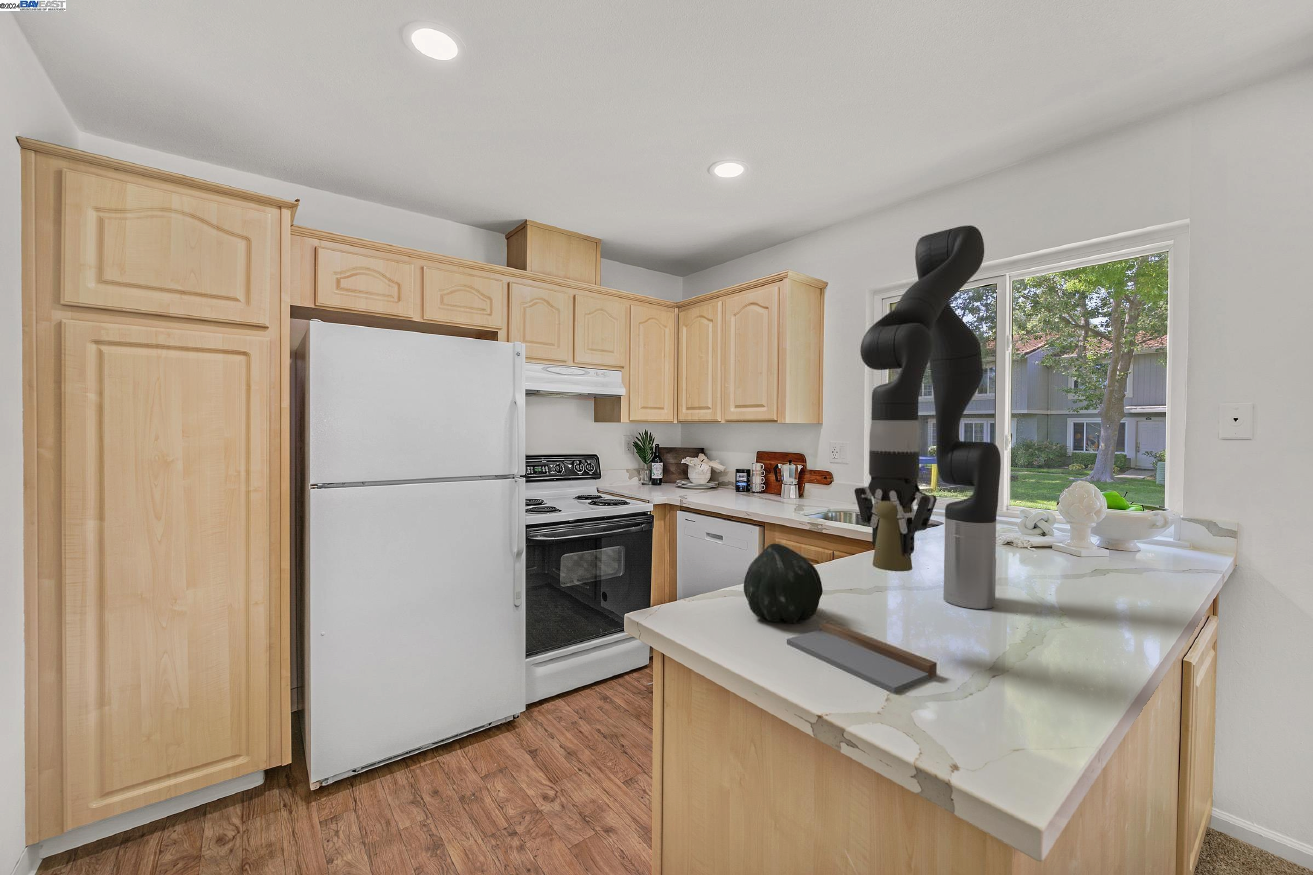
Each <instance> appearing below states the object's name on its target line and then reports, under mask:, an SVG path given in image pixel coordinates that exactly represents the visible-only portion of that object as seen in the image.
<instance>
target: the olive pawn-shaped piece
mask: <svg viewBox="0 0 1313 875" xmlns="http://www.w3.org/2000/svg"><path fill="white" fill-rule="evenodd" d="M896 506H897V505H896ZM896 506H895V504H893V503H892V501H890V500H883V501H881V502H879V503H878V504H877V507H876V513H877V516H878V517H879V526H878V532H877V538H876V545H875V549H874V552H873V559H872V567H874V568H876V569H880V570H884V571H889V572H909V571H912V570H913V564H912V555H911V556H910V555H909V554H906V556H905V557H903V555H902V548H901V540H900V533H902V532H901V530H900V526H899V519H898V518H897V516H898V510H897V507H896ZM902 509H903V512H904V513H910V508H905V509H904V508H902ZM907 519H908V518H907Z"/></svg>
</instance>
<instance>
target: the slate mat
mask: <svg viewBox="0 0 1313 875" xmlns="http://www.w3.org/2000/svg"><path fill="white" fill-rule="evenodd" d="M786 644H787V645H789V646H791V647H792V648H795V649H798V650H800V651H801V652H803V653H806V654H808V655H810V656H812V657H815V658H816V659H818V660H821V661H822V662H825V663H827V664H830V665H832V666H834V667H836V668H838V669H840V670H843V671H844V672H847V673H849V674H851V675H853V676H855V677H858V678H860V679H862V680H864V681H866V682H869V683H870V684H873V685H875V686H877V687H879V688H881V689H884V690H885V691H888V692H890V693H891V694H896V693H899V692H901V691H904V690H907V689H909V688H911V687H914V686H916V685H918V684H921V683H923V682H925V681H928V680H929V679H928V677H929V674H927V673H925V672H922V671H920V670H918V669H915V668H913V667H910V666H908V665H905V664H903V663H900V662H898V661H896V660H893V659H891V658H888V657H886V656H883V655H881V654H878V653H876V652H873V651H871V650H869V649H866V648H864V647H861V646H859V645H856V644H854V643H851V642H849V641H846V640H844V639H842V638H839V637H837V636H834V635H832V634H829V633H827V632H824V631H822V630H820V629H817V630H815V631H810V632H806V633H803V634H799V635H797V636H792V637H788V638H786Z"/></svg>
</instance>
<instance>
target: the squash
mask: <svg viewBox="0 0 1313 875" xmlns="http://www.w3.org/2000/svg"><path fill="white" fill-rule="evenodd" d="M823 591H824V590H823V585H822V581H821V576H820V574H819V572H818V570H817V569H816V567H815V566H814V565H813V564H812V563H811V561H809V560H808V559H806V557H804V555H801V554H799V553H798V552H797V551H795V550H794V549H791V548H790V547H788V546H785V545H783V544H780V543H775V542H774V543H773V542H772V543H770V544H768V545H767V546H766V547H765V548H764V549H763V550H762V552H760V553H759V554H758V556H757V557H756V558H754V560H752V562H751V563H750V564H749V566H748V568H747V571H746V573H745V576H744V581H743V592H744V593H743V594H744V595H745V596H744V597H745V598H746V600H747V603H748V606H749V609H750V611H751V612H752V613H753V614H754V615H755V616H757V617H759V618H763V619H767V621H770V622H773V623H774V622H775V623H777V622H779V621H781V619H783V620H784V622H786V623H789V624H794V623H796V622H797V621H800V622H802V621H803V622H804V621H808V620H810V619H811V618H813V616H815V613H816V612H817V610H818V608H819V604H820V600H821V597H822V595H823V593H824V592H823Z"/></svg>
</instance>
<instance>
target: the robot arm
mask: <svg viewBox="0 0 1313 875" xmlns="http://www.w3.org/2000/svg"><path fill="white" fill-rule="evenodd" d="M914 253H915V256H914V258H915V259H914V260H915V269H916V274H917V279H918V280H917V281H916V282H915V283H913V284H912V285H911V286H910V287H908V289H906V291H905V292H904V293H903V294H902V296H901V297H900V299H899V301H898V302H897V303H896V304H895V307H894V308H893V310H891V311H890V312H888V313H886V314H885V315H884V316H882V317H881V318H880V319H879V320H877V321H876V322H875V323H874V324H873V325H872V326H871V327H869V329H868V330H867V331H866V332H865V334H864V335H863V337H862V340H861V344H860V356H861V360H862V362H863V363H864V365H865V366H866V367H868V368H869V369H871V370H875V371H876V370H877V371H887V370H898V369H899V370H900V372H899V374H898V376H897V377H896V378H895V379H894V380H893V381H890V382H886V383H882V384H880V385H877V386H875V387H874V388H873V390H872V393H871V413H870V414H871V418H870V419H871V424H870V429H869V444H868V445H869V448H868V449H869V451H868V474H869V476H870V481H869V483H868V485H867V486H864V487H856V488H855V489H854V490H853V491H854V495H855V500H856V503H857V506H858V507H857V508H858V510H859V516H860V519H861V521H862V522H863V523H865V524H868V525H870V527H871V528H872V530H871V531H872V535H871V537H872V538H871V539H872V540H871V544H872V547H873V549H874V550H875V545H876V538H877V532H878V526H879V517H878V516H877V513H876V507H877V504H878V503H879V502H881V501H883V500H890V501H892V503H893V504H895V506H896V505H897V506H896V507H897V510H898V516H897V518H898V519H899V526H900V530H901V532H902V533H900V540H901V548H902V555H903V557H905V556H906V554H909V555H910V556H911V557H912V554H913V553H914V552H915V535H916V533H917V532H922V531H926V530H927V529H928V526H929V522H930V520H931V517H932V514H933V512H934V509H935V506H936V503H937V500H938V499H937V496H936V495H935V494H930V495H929V494H927V493H925V492H922V491H921V490H920V486H919V484H918V479H919V476H920V444H921V442H920V440H921V439H920V428H919V399H920V398H919V397H920V392H921V387H922V383H923V380H924V376H925V372H926V369H927V368H928V364H929V372H930V379H931V386H932V392H933V393H932V394H933V401H934V402H933V404H934V410H935V413H934V414H935V449H936V450H935V453H936V454H935V455H936V456H935V457H936V468H937V472H938V475H939V478H940V480H941V481H942V482H943V483H945V484H947V485H952V486H964V487H973V492H972V495H970V496H969V497H967V498H965V499H962V500H958V501H952V502H949V503H946V505H945V508H944V548H943V549H944V550H943V551H944V555H943V556H944V557H943V558H944V559H943V560H944V561H943V595H942V596H943V597H942V598H943V600H944V601H945V602H946V603H949V604H951V605H954V606H957V607H963V608H969V609H977V610H983V609H984V610H985V609H986V610H987V609H991V608H994V607H995V603H996V590H997V589H996V588H997V586H996V585H997V584H996V583H997V580H996V578H997V577H996V576H997V557H996V555H997V554H996V553H997V550H996V548H997V513H998V506H999V492H1000V491H999V490H1000V489H999V488H1000V478H1001V469H1002V468H1001V465H1002V461H1001V459H1002V458H1001V453H1000V450H999V448H998V445H997V444H995V443H993V442H990V441H973V440H972V441H971V440H969V441H968V440H967V441H966V440H965V441H964V440H960V433H959V432H960V424H961V420H962V416H964V412H965V410H966V409H967V407H968V406H969V404H970V402H971V401H972V399H973V397H974V396H975V394H976V393H977V391H978V389H979V387H980V385H981V382H982V380H983V377H984V367H983V356H982V348H981V343H980V341H979V339H978V337H977V336H976V334H975V333H974V331H973V330H972V329H971V328H970V327H969V325H967V324H966V322H964V321H963V319H962V318H961V317H960V316H959V315H958V314H957V313H956V311H955V310H954V308H953V307H952V305H951V304H950V302H949V301H950V300H952V298H953V297H954V296H955V295H956V294H957V293H958V292H959V291H960V290H961V289H962V288H963V287H964V286H965V285H966V284H967V283H968V282H969V281H970V279H971V278H973V276H974V275H975V274H976V273H977V272H978V271H979V269H980V267H981V266H982V264H983V261H984V258H985V242H984V238H983V235H982V233H981V231H980V229H979V228H977V227H976V226H975V225H970V224H969V225H960V226H956V227H953V228H948V229H945V230H941V231H937V232H933V233H930V234H929V233H928V234H926V235H922V236H921V237H920V238H919V239H918V241H917V243H916V246H915V252H914ZM872 498H873V500H874V501H873V500H872ZM915 501H916V503H915V505H916V506H917V508H916V510H915V508H914V502H915ZM902 508H904V509H905V508H910V513H904V512H903V509H902ZM907 518H908V519H907Z"/></svg>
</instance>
